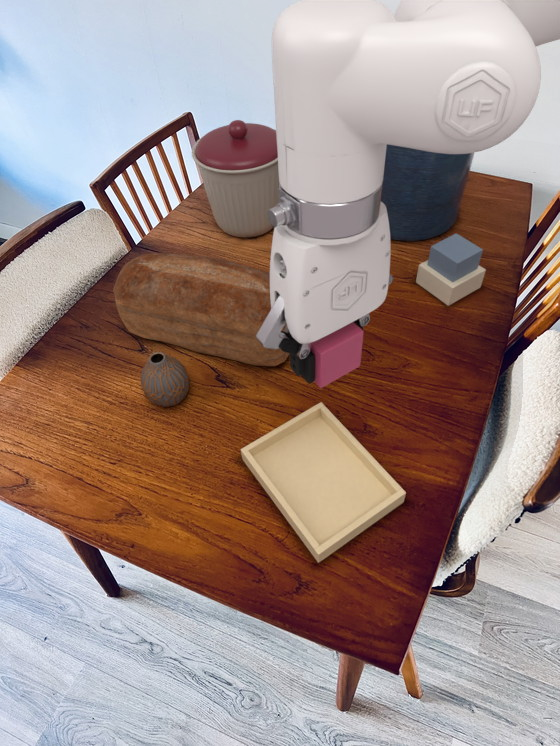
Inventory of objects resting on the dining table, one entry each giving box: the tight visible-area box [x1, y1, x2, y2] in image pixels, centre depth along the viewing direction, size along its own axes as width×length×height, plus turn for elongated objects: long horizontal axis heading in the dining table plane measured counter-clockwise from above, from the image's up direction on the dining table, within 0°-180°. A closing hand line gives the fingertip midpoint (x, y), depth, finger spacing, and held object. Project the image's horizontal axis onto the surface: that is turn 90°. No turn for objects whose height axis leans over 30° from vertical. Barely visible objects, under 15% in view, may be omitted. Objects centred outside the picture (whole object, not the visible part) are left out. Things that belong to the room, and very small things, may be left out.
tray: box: [240, 401, 407, 564], centre depth 68 cm, size 18×14×3 cm
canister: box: [191, 119, 279, 239], centre depth 101 cm, size 18×18×21 cm
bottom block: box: [415, 259, 487, 307], centre depth 92 cm, size 8×8×4 cm
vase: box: [140, 351, 190, 408], centre depth 77 cm, size 7×7×9 cm
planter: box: [381, 144, 476, 242], centre depth 101 cm, size 22×22×20 cm
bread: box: [112, 252, 290, 367], centre depth 83 cm, size 12×31×14 cm, turn 70°
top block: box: [311, 322, 365, 389], centre depth 51 cm, size 5×5×5 cm
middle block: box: [427, 233, 484, 282], centre depth 88 cm, size 6×6×4 cm
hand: (326, 359), depth 53 cm, fingers closed on top block, 5 cm apart
